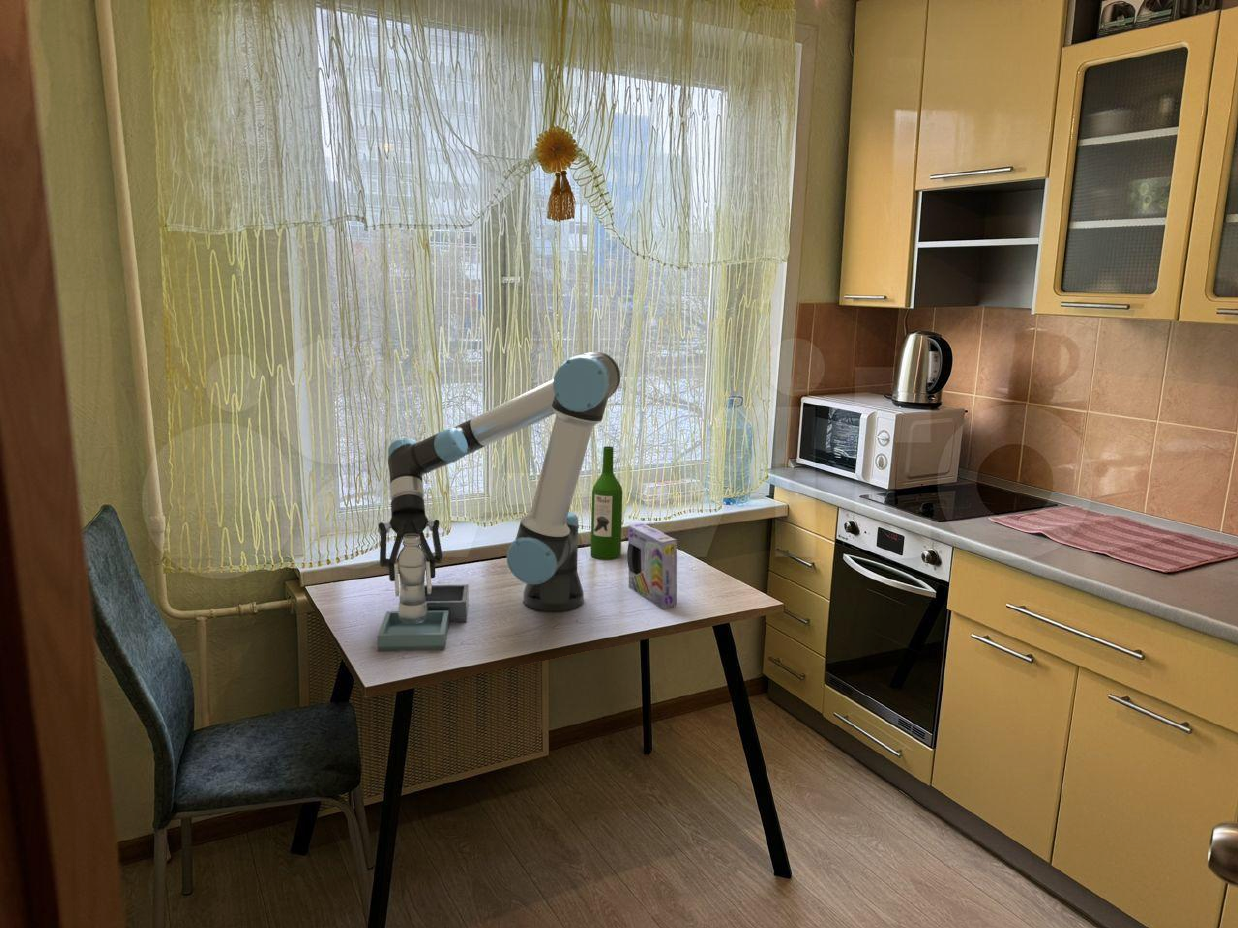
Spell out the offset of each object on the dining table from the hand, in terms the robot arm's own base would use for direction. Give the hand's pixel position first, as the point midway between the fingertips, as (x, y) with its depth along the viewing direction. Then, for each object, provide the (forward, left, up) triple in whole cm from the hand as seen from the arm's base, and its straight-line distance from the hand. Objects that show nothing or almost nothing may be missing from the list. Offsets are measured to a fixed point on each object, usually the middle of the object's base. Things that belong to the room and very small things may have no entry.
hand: (413, 592), depth 187 cm
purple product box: (-57, -26, -12) cm, 64 cm away
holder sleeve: (-5, -17, -12) cm, 22 cm away
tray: (0, -3, -12) cm, 12 cm away
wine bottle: (-49, -60, -12) cm, 79 cm away
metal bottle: (+1, -4, -9) cm, 9 cm away
